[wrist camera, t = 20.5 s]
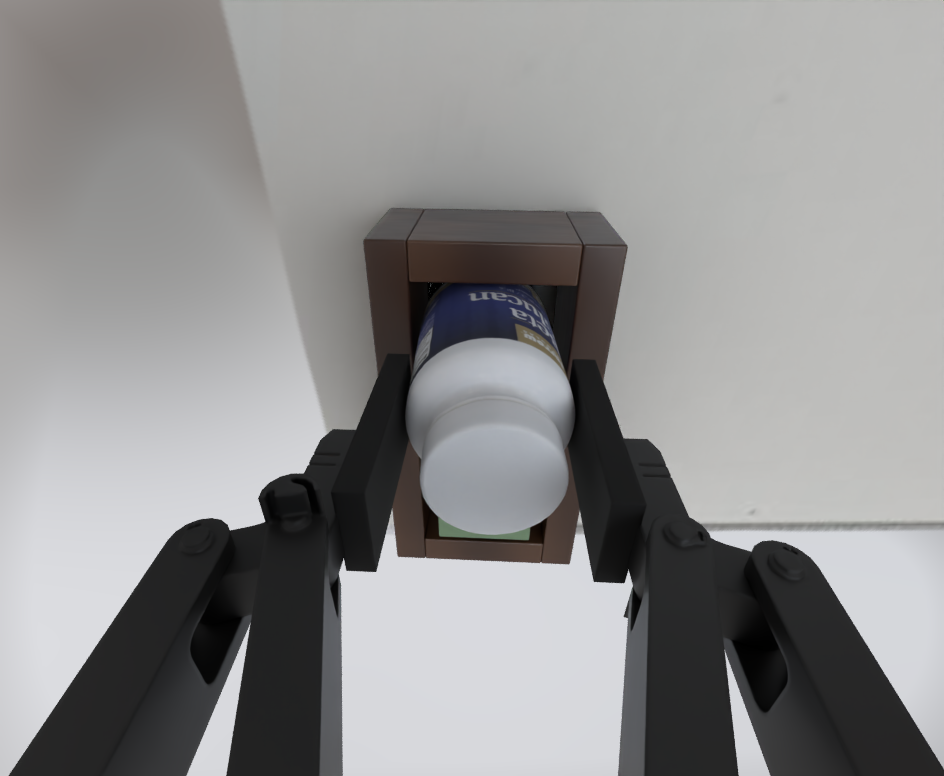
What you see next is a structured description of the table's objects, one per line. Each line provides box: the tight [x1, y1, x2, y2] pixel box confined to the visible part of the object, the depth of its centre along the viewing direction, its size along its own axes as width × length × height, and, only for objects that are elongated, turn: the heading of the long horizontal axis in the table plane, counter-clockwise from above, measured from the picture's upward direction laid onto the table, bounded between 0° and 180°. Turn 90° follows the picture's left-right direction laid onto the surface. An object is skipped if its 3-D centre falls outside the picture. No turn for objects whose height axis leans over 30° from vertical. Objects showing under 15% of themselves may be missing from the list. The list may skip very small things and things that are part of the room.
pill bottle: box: [405, 283, 575, 535], centre depth 17 cm, size 5×5×10 cm
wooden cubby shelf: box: [363, 208, 628, 564], centre depth 23 cm, size 9×16×5 cm, turn 179°
